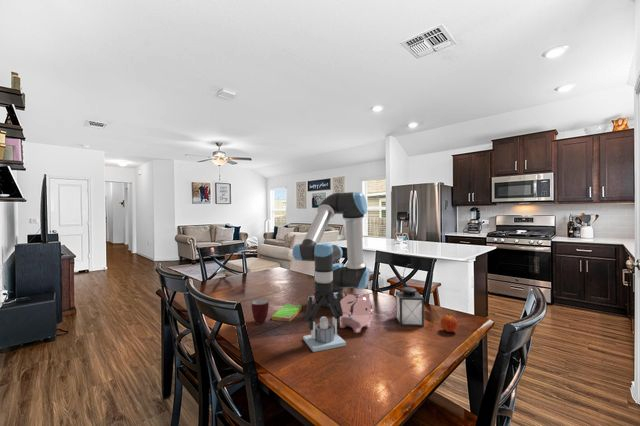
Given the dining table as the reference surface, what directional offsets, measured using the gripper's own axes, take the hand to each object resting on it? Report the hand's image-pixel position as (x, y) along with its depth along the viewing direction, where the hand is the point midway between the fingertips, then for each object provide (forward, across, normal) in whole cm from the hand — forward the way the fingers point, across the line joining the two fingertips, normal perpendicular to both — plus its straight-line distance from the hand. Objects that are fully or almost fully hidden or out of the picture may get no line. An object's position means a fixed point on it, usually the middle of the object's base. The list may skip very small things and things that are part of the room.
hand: (324, 335), depth 121 cm
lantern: (+3, -47, -5) cm, 47 cm away
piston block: (+3, 0, 0) cm, 3 cm away
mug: (+3, +21, -31) cm, 38 cm away
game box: (+4, +5, -39) cm, 39 cm away
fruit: (+3, -56, +11) cm, 57 cm away
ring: (+1, 0, 0) cm, 1 cm away
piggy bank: (+3, -20, -9) cm, 22 cm away
